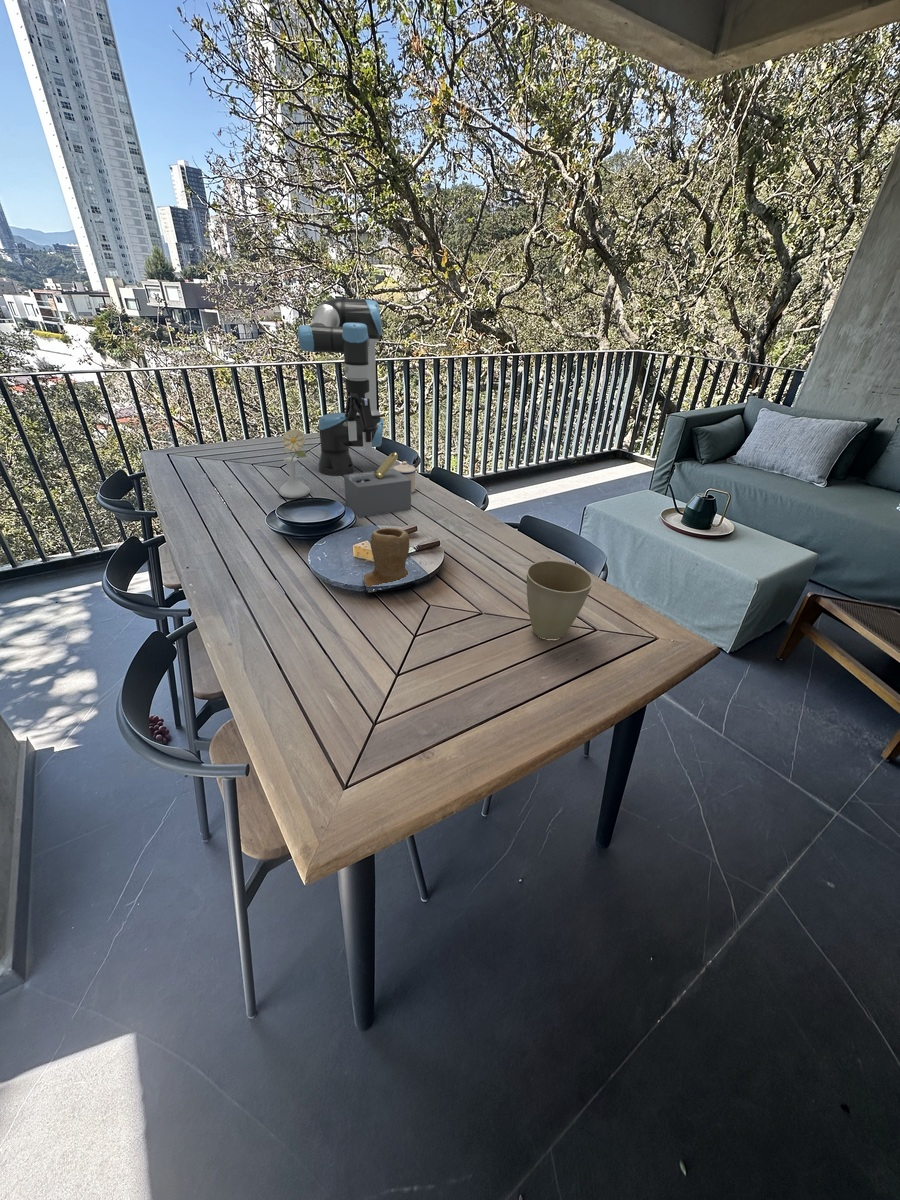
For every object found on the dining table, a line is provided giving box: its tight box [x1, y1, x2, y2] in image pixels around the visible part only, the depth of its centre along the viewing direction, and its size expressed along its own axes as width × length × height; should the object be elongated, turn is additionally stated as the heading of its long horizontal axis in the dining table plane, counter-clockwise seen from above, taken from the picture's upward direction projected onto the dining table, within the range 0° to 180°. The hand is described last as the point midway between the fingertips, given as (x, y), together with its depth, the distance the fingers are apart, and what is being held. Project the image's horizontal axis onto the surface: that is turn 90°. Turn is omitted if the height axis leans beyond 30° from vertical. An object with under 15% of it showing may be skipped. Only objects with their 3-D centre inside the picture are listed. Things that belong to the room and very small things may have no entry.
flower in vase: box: [278, 428, 311, 499], centre depth 183 cm, size 13×11×25 cm
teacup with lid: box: [392, 460, 417, 494], centre depth 196 cm, size 12×9×12 cm
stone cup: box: [363, 527, 410, 593], centre depth 134 cm, size 15×12×15 cm
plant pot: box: [526, 560, 594, 639], centre depth 117 cm, size 15×15×16 cm
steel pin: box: [349, 471, 373, 483], centre depth 178 cm, size 3×8×12 cm, turn 120°
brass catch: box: [374, 451, 399, 479], centre depth 178 cm, size 4×11×2 cm
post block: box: [343, 468, 412, 518], centre depth 181 cm, size 14×20×11 cm
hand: (360, 445), depth 170 cm, fingers open, 13 cm apart
